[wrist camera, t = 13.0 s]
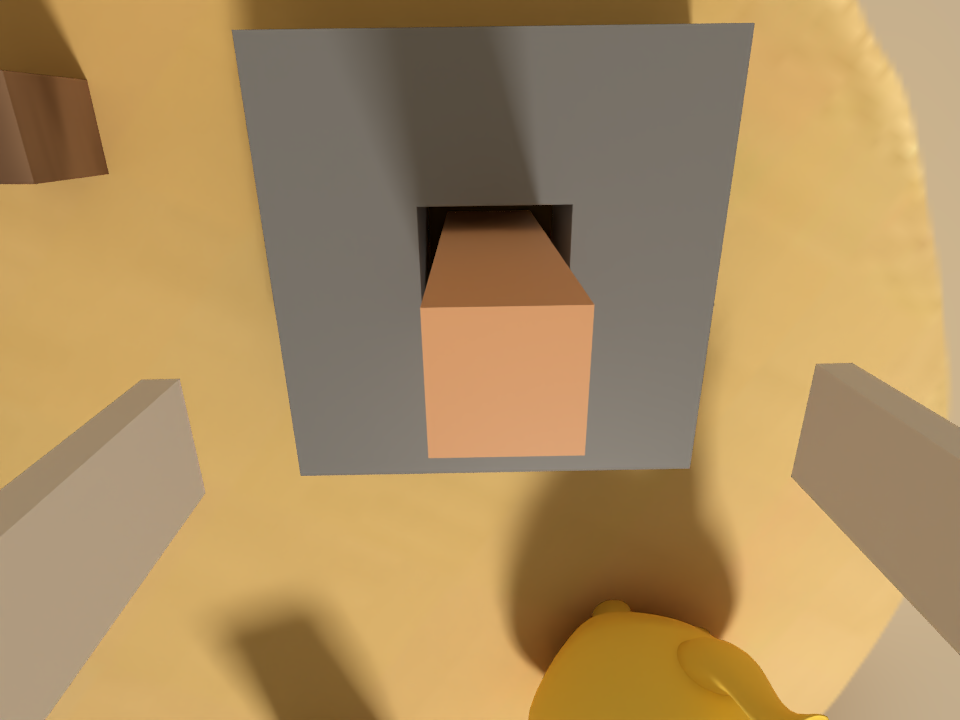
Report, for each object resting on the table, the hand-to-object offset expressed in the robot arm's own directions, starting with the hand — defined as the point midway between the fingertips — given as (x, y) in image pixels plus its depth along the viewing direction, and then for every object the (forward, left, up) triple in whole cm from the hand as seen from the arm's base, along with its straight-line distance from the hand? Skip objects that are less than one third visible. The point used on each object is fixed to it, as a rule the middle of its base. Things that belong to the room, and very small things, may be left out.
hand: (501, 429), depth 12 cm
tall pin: (0, 0, -18) cm, 18 cm away
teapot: (+10, -27, -18) cm, 34 cm away
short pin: (-20, +6, -18) cm, 27 cm away
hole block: (0, 0, -18) cm, 18 cm away
